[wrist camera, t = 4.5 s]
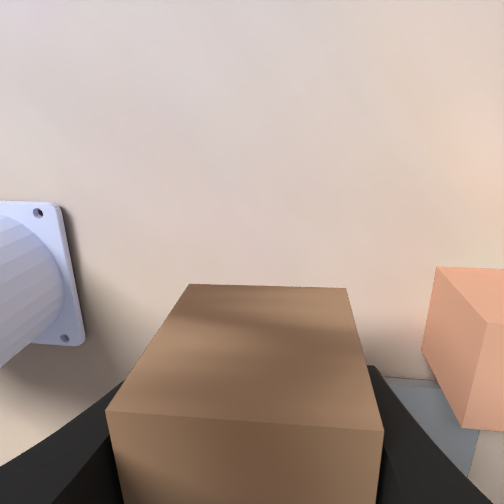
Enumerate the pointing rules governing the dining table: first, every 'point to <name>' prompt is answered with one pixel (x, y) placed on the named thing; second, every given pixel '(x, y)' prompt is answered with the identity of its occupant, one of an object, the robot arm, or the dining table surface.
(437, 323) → the terracotta block
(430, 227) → the dining table surface
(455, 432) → the board
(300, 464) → the walnut block
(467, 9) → the dining table surface
